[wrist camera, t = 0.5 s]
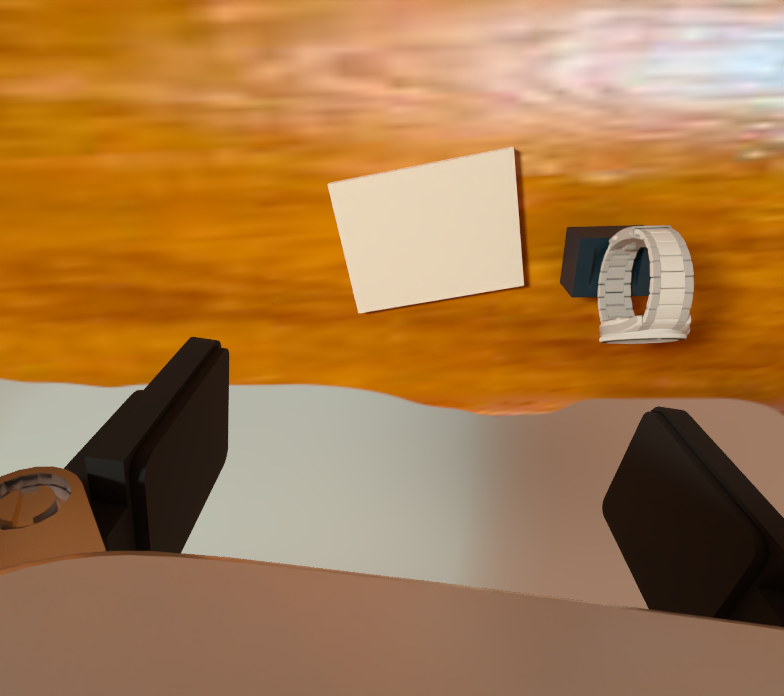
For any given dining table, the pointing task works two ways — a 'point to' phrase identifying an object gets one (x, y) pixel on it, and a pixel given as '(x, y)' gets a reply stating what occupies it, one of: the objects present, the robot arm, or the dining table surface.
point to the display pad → (431, 230)
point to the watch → (632, 280)
